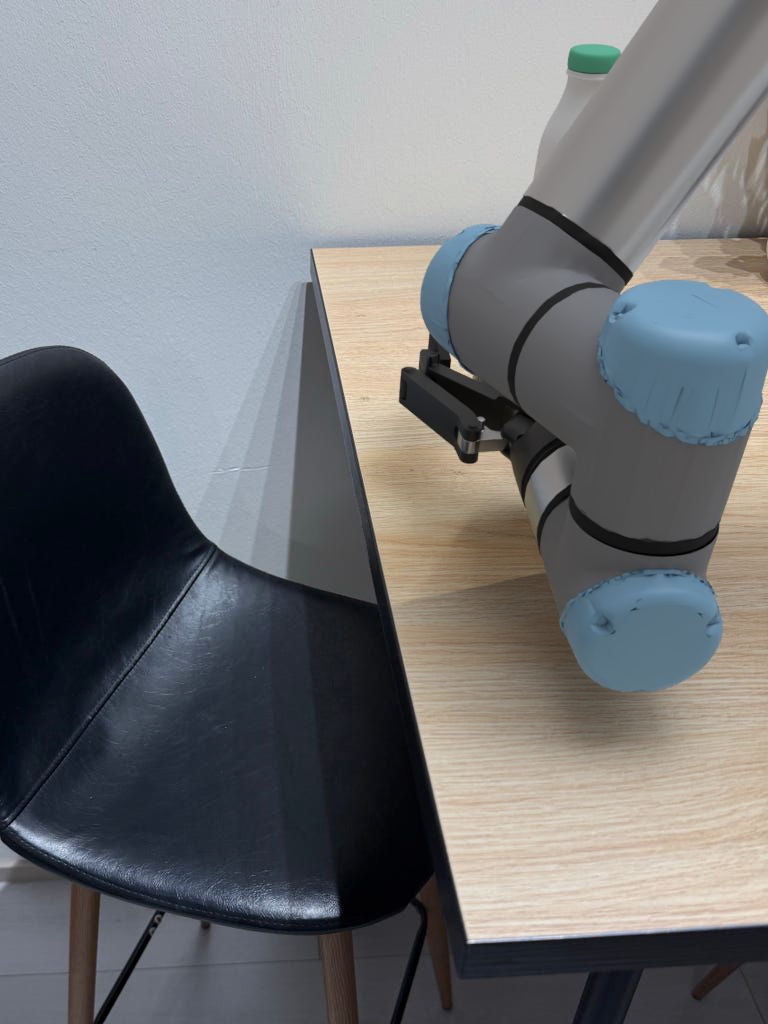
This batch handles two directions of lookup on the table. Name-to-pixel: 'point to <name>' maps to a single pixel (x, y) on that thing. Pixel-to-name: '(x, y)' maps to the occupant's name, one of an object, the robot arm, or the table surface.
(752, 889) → the table surface
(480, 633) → the table surface
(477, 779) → the table surface
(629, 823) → the table surface
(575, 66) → the milk bottle
